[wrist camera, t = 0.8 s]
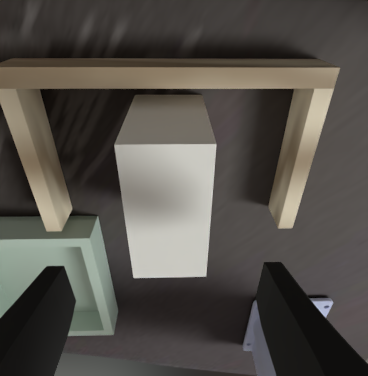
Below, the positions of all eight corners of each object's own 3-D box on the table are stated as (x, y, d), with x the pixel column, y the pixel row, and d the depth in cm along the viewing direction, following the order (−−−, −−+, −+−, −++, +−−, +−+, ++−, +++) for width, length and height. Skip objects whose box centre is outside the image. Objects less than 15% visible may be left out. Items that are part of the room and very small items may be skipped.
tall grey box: (197, 209, 22) (205, 285, 16) (145, 210, 22) (134, 287, 16) (201, 94, 17) (216, 144, 11) (135, 94, 17) (114, 144, 11)
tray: (118, 310, 29) (113, 334, 27) (13, 312, 28) (0, 337, 26) (97, 215, 22) (89, 238, 20) (-42, 217, 21) (-65, 240, 19)
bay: (281, 206, 22) (292, 228, 20) (59, 208, 21) (46, 231, 19) (318, 58, 16) (340, 67, 14) (12, 58, 15) (-13, 67, 13)
